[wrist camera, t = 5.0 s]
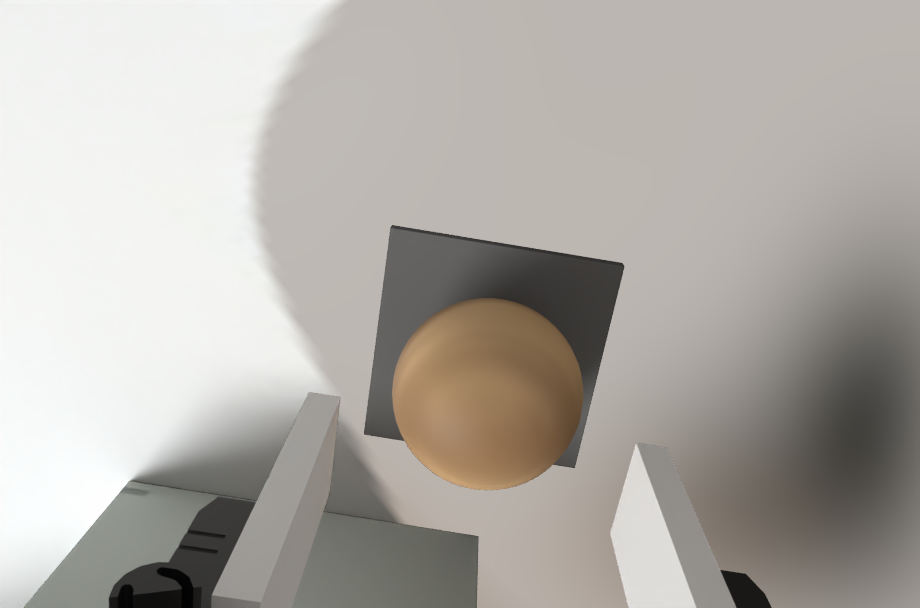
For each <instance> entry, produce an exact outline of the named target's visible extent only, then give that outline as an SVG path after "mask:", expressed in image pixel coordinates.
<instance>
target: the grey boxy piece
mask: <svg viewBox="0 0 920 608" xmlns="http://www.w3.org/2000/svg"><path fill="white" fill-rule="evenodd" d="M217 497H225V498H231V499H238V500H245V501H251V502H257V501H252V500H246V499H239V498H233V497H227V496H220V495H214V494H208V493H202V492H195V491H189V490H183V489H176V488H170V487H164V486H157V485H151V484H145V483H138V482H132V481H129V482H128V483H127V485H126V486H125V487H124V488H123V489H122V490H121V492H120V493H119V494H118V495H117V496H116V498H115V499H114V500H113V501H112V502H111V504H110V505H109V506H108V507H107V508H106V510H105V511H104V512H103V513H102V514H101V516H100V517H99V518H98V519H97V520H96V522H95V523H94V524H93V525H92V526H91V528H90V529H89V530H88V531H87V532H86V534H85V535H84V536H83V537H82V538H81V540H80V541H79V542H78V543H77V544H76V546H75V547H74V548H73V549H72V550H71V552H70V553H69V554H68V555H67V556H66V557H65V559H64V560H63V561H62V562H61V563H60V565H59V566H58V567H57V568H56V569H55V571H54V572H53V573H52V574H51V575H50V577H49V578H48V579H47V580H46V581H45V583H44V584H43V585H42V586H41V587H40V589H39V590H38V591H37V592H36V593H35V595H34V596H33V597H32V598H31V599H30V601H29V602H28V603H27V604H26V605H25V607H24V608H109V596H110V593H111V591H112V588H113V586H114V584H115V583H117V582H118V581H119V580H120V579H121V578H122V577H123V576H124V575H125V574H126V573H128V572H130V571H132V570H134V569H136V568H138V567H140V566H143V565H147V564H151V563H156V562H169V561H170V559H171V557H172V556H173V554H174V552H175V550H176V549H178V547H179V544H180V542H181V540H182V539H183V537H184V535H185V533H187V531H188V528H189V527H190V525H191V523H192V522H193V520H194V518H195V516H196V515H197V513H198V511H199V510H201V509H202V508H204V507H205V506H206V505H208V504H209V503H210V502H212V501H213V500H214V499H216V498H217ZM477 573H478V536H474V535H467V534H461V533H455V532H448V531H442V530H436V529H429V528H423V527H416V526H410V525H404V524H398V523H391V522H385V521H379V520H372V519H366V518H360V517H353V516H347V515H341V514H334V513H328V512H323V514H322V517H321V520H320V523H319V526H318V529H317V532H316V535H315V538H314V541H313V544H312V547H311V550H310V553H309V556H308V559H307V562H306V566H305V569H304V572H303V575H302V578H301V581H300V584H299V587H298V590H297V593H296V596H295V599H294V602H293V605H292V608H477Z"/></svg>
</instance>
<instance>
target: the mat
mask: <svg viewBox="0 0 920 608" xmlns="http://www.w3.org/2000/svg"><path fill="white" fill-rule="evenodd" d="M623 270H624V265H623V263H619V262H613V261H607V260H601V259H594V258H588V257H582V256H576V255H570V254H564V253H558V252H551V251H546V250H539V249H534V248H528V247H521V246H515V245H509V244H503V243H497V242H491V241H485V240H479V239H472V238H467V237H460V236H455V235H449V234H442V233H436V232H430V231H424V230H418V229H412V228H405V227H400V226H394V225H392V226H391V229H390V236H389V244H388V252H387V259H386V267H385V275H384V282H383V290H382V299H381V306H380V314H379V321H378V330H377V337H376V345H375V352H374V360H373V368H372V377H371V384H370V392H369V399H368V407H367V414H366V422H365V430H364V434H365V435H371V436H378V437H384V438H390V439H396V440H402V441H405V440H404V439H403V437H402V435H401V433H400V430H399V428H398V425H397V422H396V418H395V414H394V408H393V399H392V389H393V379H394V374H395V369H396V365H397V362H398V360H399V357H400V355H401V353H402V351H403V349H404V347H405V345H406V343H407V341H408V340H409V339H410V337H411V336H412V335H413V333H414V332H415V331H416V330H417V329H418V328H419V327H420V326H421V325H422V324H423V323H424V322H425V321H426V320H427V319H428V318H430V317H431V316H432V315H434V314H435V313H437V312H438V311H440V310H442V309H444V308H446V307H448V306H450V305H453V304H455V303H458V302H462V301H466V300H471V299H478V298H496V299H504V300H509V301H513V302H516V303H519V304H522V305H525V306H527V307H529V308H531V309H533V310H535V311H537V312H538V313H540V314H541V315H542V316H544V317H545V318H547V319H548V320H549V321H550V322H551V323H552V324H553V325H554V326H555V327H556V328H557V329H558V330H559V331H560V332H561V333H562V335H563V336H564V337H565V338H566V340H567V341H568V343H569V345H570V346H571V348H572V350H573V352H574V355H575V357H576V359H577V361H578V364H579V368H580V371H581V376H582V384H583V406H582V412H581V418H580V421H579V425H578V428H577V430H576V432H575V434H574V437H573V439H572V441H571V443H570V444H569V446H568V447H567V449H566V450H565V452H564V453H563V454H562V456H561V457H560V458H559V459H558V460H557V461H556V462H555V463H554V464H553V465H559V466H565V467H572V468H575V465H576V461H577V456H578V453H579V448H580V444H581V440H582V436H583V432H584V428H585V424H586V420H587V416H588V412H589V407H590V404H591V400H592V396H593V392H594V388H595V383H596V379H597V375H598V371H599V367H600V363H601V359H602V355H603V351H604V347H605V343H606V338H607V335H608V331H609V327H610V323H611V319H612V315H613V310H614V306H615V302H616V298H617V294H618V290H619V286H620V282H621V278H622V274H623Z"/></svg>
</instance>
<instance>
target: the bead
mask: <svg viewBox="0 0 920 608" xmlns="http://www.w3.org/2000/svg"><path fill="white" fill-rule="evenodd" d="M392 399H393V408H394V414H395V418H396V422H397V425H398V428H399V430H400V433H401V435H402V437H403V439H404V440H405V442H406V444H407V446H408V447H409V449H410V450H411V451H412V453H413V454H414V455H415V457H416V458H417V459H418V460H419V461H420V462H421V463H422V464H423V465H424V466H425V467H427V468H428V469H429V470H430V471H432V472H433V473H434V474H436V475H437V476H439V477H441V478H442V479H444V480H446V481H449V482H451V483H453V484H456V485H459V486H462V487H466V488H471V489H478V490H498V489H506V488H510V487H514V486H518V485H521V484H523V483H526V482H528V481H530V480H532V479H534V478H536V477H538V476H539V475H540V474H542V473H543V472H545V471H546V470H547V469H548V468H550V467H551V466H552V465H553V464H554V463H555V462H556V461H557V460H558V459H559V458H560V457H561V456H562V454H563V453H564V452H565V450H566V449H567V447H568V446H569V444H570V443H571V441H572V439H573V437H574V434H575V432H576V430H577V428H578V425H579V421H580V418H581V412H582V406H583V384H582V376H581V371H580V368H579V364H578V361H577V359H576V357H575V355H574V352H573V350H572V348H571V346H570V345H569V343H568V341H567V340H566V338H565V337H564V336H563V335H562V333H561V332H560V331H559V330H558V329H557V328H556V327H555V326H554V325H553V324H552V323H551V322H550V321H549V320H548V319H547V318H545V317H544V316H542V315H541V314H540V313H538V312H537V311H535V310H533V309H531V308H529V307H527V306H525V305H522V304H519V303H516V302H513V301H509V300H504V299H496V298H478V299H471V300H466V301H462V302H458V303H455V304H453V305H450V306H448V307H446V308H444V309H442V310H440V311H438V312H437V313H435V314H434V315H432V316H431V317H430V318H428V319H427V320H426V321H425V322H424V323H423V324H422V325H421V326H420V327H419V328H418V329H417V330H416V331H415V332H414V333H413V335H412V336H411V337H410V339H409V340H408V341H407V343H406V345H405V347H404V349H403V351H402V353H401V355H400V357H399V360H398V362H397V365H396V369H395V374H394V379H393V389H392Z"/></svg>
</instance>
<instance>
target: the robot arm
mask: <svg viewBox="0 0 920 608" xmlns="http://www.w3.org/2000/svg"><path fill="white" fill-rule="evenodd" d="M339 406H340V397H337V396H331V395H324V394H318V393H312V392H309V393H308V395H307V397H306V399H305V401H304V403H303V406H302V408H301V410H300V412H299V414H298V416H297V418H296V420H295V422H294V424H293V426H292V429H291V431H290V433H289V435H288V437H287V439H286V441H285V443H284V445H283V447H282V449H281V451H280V454H279V456H278V458H277V460H276V462H275V464H274V466H273V468H272V470H271V472H270V474H269V477H268V479H267V481H266V483H265V485H264V487H263V489H262V491H261V493H260V495H259V497H258V500H257V502H251V501H245V500H238V499H231V498H225V497H217V498H216V499H214V500H213V501H212V502H210V503H209V504H208V505H206V506H205V507H204V508H202V509H201V510H199V511H198V513H197V515H196V516H195V518H194V520H193V522H192V523H191V525H190V527H189V528H188V531H187V533H185V535H184V537H183V539H182V540H181V542H180V544H179V547H178V549H176V550H175V552H174V554H173V556H172V557H171V559H170V561H169V562H156V563H151V564H147V565H143V566H140V567H138V568H136V569H134V570H132V571H130V572H128V573H126V574H125V575H124V576H123V577H122V578H121V579H120V580H119V581H118V582H117V583H115V584H114V586H113V588H112V591H111V593H110V596H109V608H292V605H293V602H294V599H295V596H296V593H297V590H298V587H299V584H300V581H301V578H302V575H303V572H304V569H305V566H306V562H307V559H308V556H309V553H310V550H311V547H312V544H313V541H314V538H315V535H316V532H317V529H318V526H319V523H320V520H321V517H322V514H323V511H324V508H325V505H326V502H327V499H328V496H329V493H330V488H331V479H332V469H333V460H334V451H335V442H336V433H337V424H338V415H339ZM610 535H611V539H612V543H613V547H614V551H615V555H616V559H617V563H618V568H619V571H620V576H621V579H622V584H623V587H624V592H625V595H626V600H627V604H628V607H629V608H771V606H770V604H769V601H768V599H767V598H766V596H765V594H764V593H763V592H762V590H761V589H760V588H759V587H758V586H757V585H756V584H755V583H754V582H753V581H752V580H751V579H750V578H749V577H748V576H747V575H746V574H743V573H736V572H730V571H723V570H720V569H719V566H718V564H717V562H716V560H715V557H714V555H713V553H712V550H711V548H710V546H709V544H708V541H707V539H706V537H705V535H704V532H703V530H702V527H701V525H700V523H699V520H698V518H697V516H696V513H695V511H694V509H693V506H692V504H691V502H690V500H689V497H688V495H687V493H686V491H685V488H684V486H683V483H682V481H681V479H680V476H679V474H678V472H677V470H676V468H675V465H674V463H673V460H672V458H671V456H670V453H669V451H668V449H667V447H662V446H655V445H649V444H642V443H636V445H635V448H634V452H633V455H632V459H631V462H630V466H629V469H628V473H627V476H626V480H625V483H624V487H623V490H622V494H621V497H620V500H619V504H618V507H617V511H616V515H615V518H614V522H613V525H612V528H611V532H610Z"/></svg>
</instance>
